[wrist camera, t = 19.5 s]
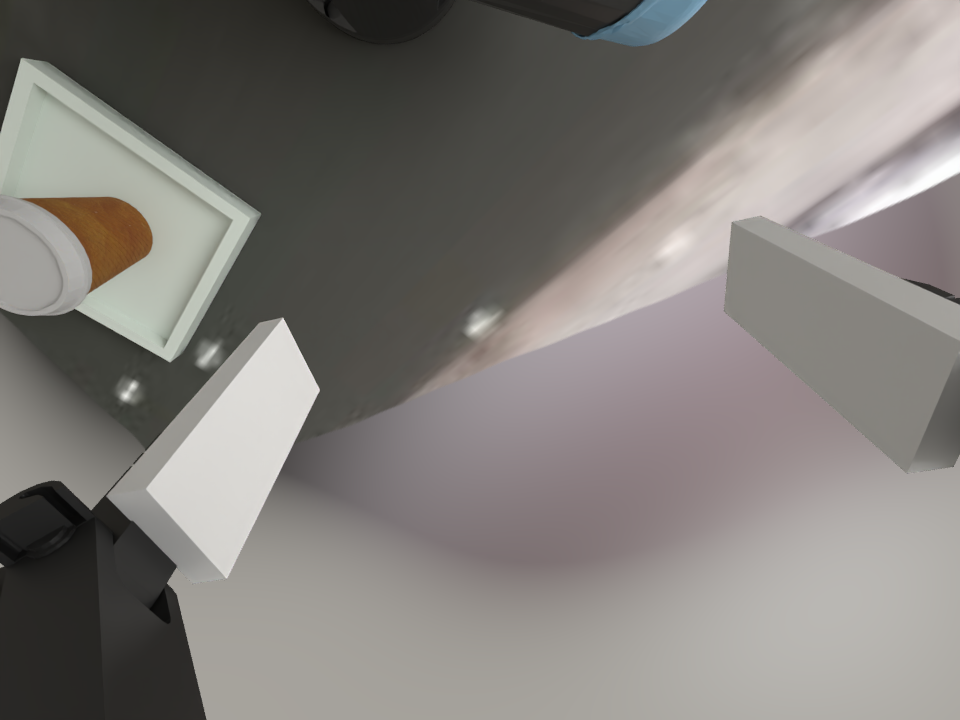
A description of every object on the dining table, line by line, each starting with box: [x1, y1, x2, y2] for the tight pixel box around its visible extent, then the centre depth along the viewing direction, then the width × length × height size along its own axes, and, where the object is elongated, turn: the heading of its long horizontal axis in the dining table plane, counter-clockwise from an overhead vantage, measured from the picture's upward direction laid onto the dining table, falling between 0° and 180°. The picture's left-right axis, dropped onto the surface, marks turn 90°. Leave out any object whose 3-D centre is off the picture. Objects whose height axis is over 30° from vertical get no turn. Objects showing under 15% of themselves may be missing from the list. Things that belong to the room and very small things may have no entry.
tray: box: [0, 58, 261, 362], centre depth 44 cm, size 20×20×2 cm
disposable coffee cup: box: [0, 194, 153, 316], centre depth 38 cm, size 10×10×12 cm
